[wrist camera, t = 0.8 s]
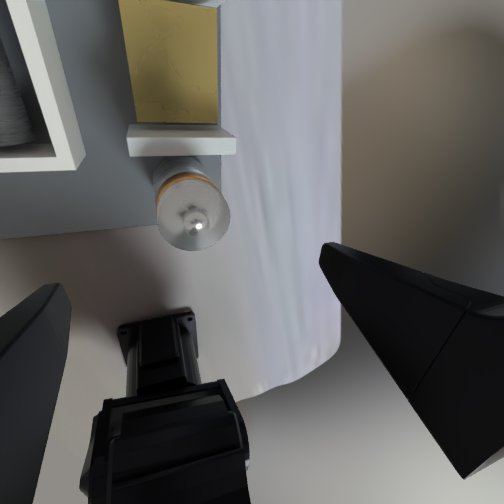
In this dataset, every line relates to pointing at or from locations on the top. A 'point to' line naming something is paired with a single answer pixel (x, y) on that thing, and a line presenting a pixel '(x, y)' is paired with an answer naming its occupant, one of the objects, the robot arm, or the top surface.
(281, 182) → the top surface
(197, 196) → the cell
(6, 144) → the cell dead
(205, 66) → the plate
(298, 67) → the top surface
